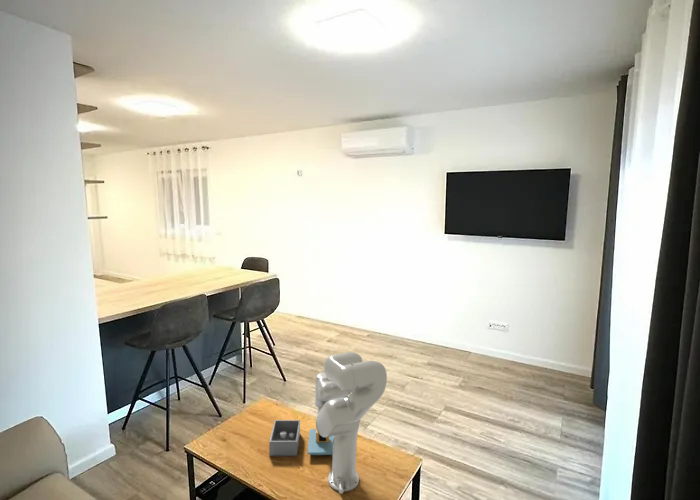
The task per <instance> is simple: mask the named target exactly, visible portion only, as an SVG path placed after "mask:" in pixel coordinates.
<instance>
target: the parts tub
mask: <svg viewBox="0 0 700 500" xmlns="http://www.w3.org/2000/svg"><path fill="white" fill-rule="evenodd" d="M270 433H271V434H270V439H269V441H268V442H269V447H268V448H269V449H268V450H269V453H268V454H269V457H298V452H299V451H298V450H299V444H300V437H301V436H300V435H301V420H300V419H288V420H287V419H275V420H274V422H273V426H272V431H271V432H270Z"/></svg>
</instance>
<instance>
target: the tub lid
mask: <svg viewBox="0 0 700 500" xmlns="http://www.w3.org/2000/svg"><path fill="white" fill-rule="evenodd" d="M333 438H334V436H331V437H326V441H319V433H318V431H317V429H316V428H315V429H314V428H310V429H309V436H308V446H307V455H310V456H332V455H333Z"/></svg>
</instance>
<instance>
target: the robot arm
mask: <svg viewBox="0 0 700 500" xmlns="http://www.w3.org/2000/svg"><path fill="white" fill-rule="evenodd" d="M323 367H324V368H323V369H324V371H323V372H319V373H317V374H316V377H315V393H314V394H315V397H314V399H315V400H314V401H315V403H314V405H315V407H317V415H316V418H315V429H317V431H318V433H319V441H326V437H331V436H334V438H333V455H331V456H332V457H331V458H332V462H331V466H332V467H331V470H330V471H329V473H328V476H327V482H328V485H329V486H330V488H332V489H333V490H335V491H338V493H339V494H344V492H350V491H353V490H354V489H356V488H357V487H358V485H359V482H360V475H359V474H358V472H357V471H356V468H357V444H358V443H357V442H358V434H359V428H360V424H361V419H362V418H363V417H364V416H365V415H366V414H367V413H368V411H369V410H370V409H371V408H372V407H373V406H374V405H375V404H376V403H377V402H378V401H379V400H380V399H381V397H382V396H383V394H384V392H385V390H386V388H387V387H386V386H387V380H388V376H387V370H386V368H385V365H383V363H381V362H380V361H376V360H366V361H363V358H362V356H361V355H360V354H359V353H357V352H353V351H351V352H343V353H339V354H332V355H330V356H328V357H327V358H326V359H325V361H324V365H323Z"/></svg>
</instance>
